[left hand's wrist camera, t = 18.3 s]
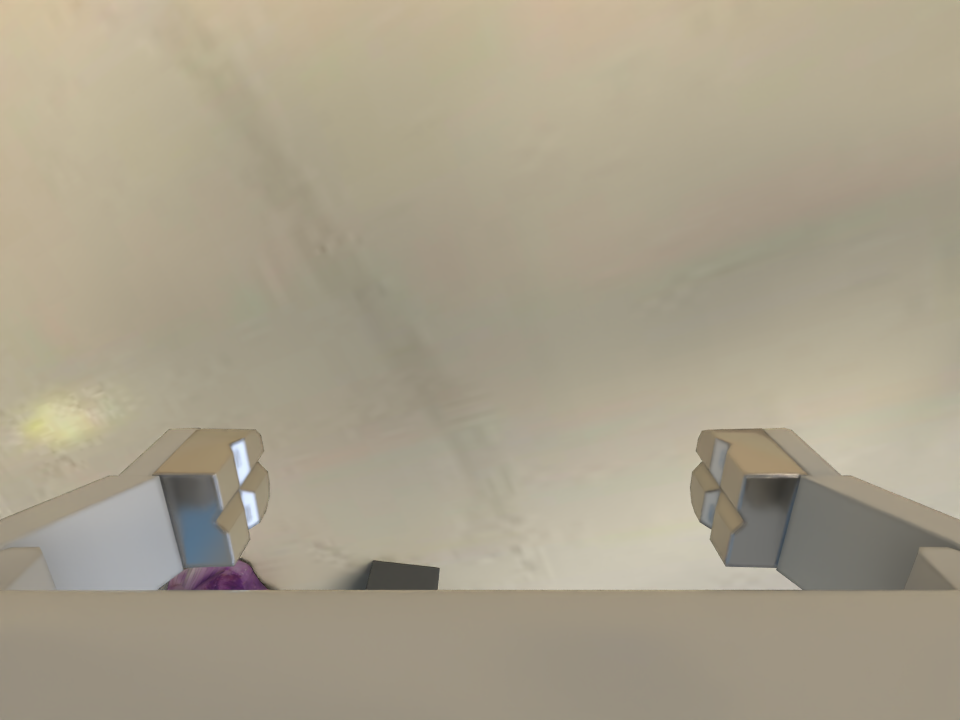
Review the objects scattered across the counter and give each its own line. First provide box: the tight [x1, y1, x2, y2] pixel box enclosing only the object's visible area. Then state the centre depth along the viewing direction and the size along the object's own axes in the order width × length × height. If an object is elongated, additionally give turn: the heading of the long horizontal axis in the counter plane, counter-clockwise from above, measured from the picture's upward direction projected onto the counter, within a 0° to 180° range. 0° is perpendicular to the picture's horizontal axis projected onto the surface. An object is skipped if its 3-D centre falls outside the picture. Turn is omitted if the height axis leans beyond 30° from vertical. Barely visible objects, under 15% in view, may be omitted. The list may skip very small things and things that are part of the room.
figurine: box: [167, 559, 269, 590], centre depth 44 cm, size 9×10×15 cm
